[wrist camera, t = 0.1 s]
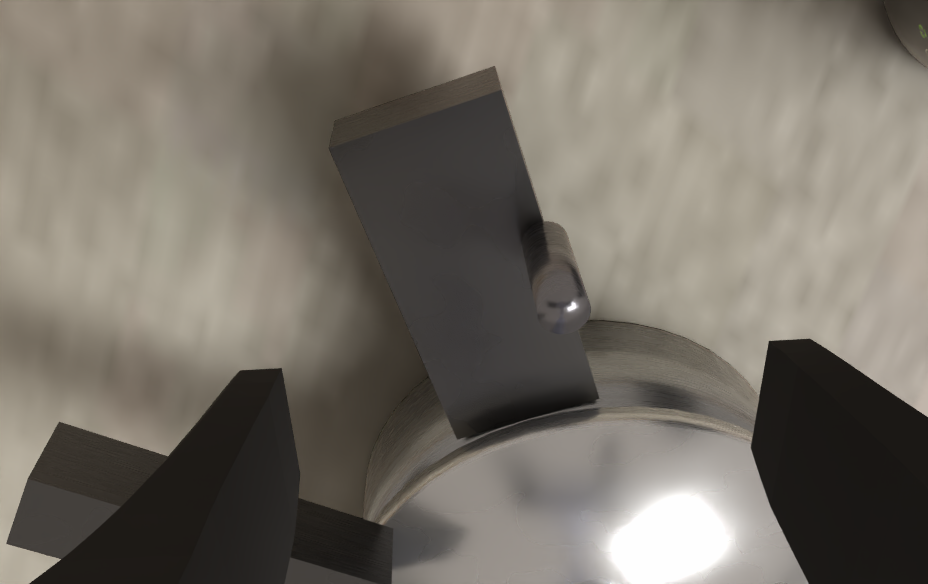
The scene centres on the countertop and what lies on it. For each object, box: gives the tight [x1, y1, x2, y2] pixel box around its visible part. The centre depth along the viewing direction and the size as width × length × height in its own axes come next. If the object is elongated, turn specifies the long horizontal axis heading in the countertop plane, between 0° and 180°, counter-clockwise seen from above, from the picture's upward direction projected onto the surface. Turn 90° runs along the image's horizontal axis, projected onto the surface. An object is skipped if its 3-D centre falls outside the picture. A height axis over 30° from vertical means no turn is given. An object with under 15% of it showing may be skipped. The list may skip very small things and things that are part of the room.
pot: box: [329, 66, 759, 522], centre depth 23 cm, size 21×13×7 cm, turn 18°
